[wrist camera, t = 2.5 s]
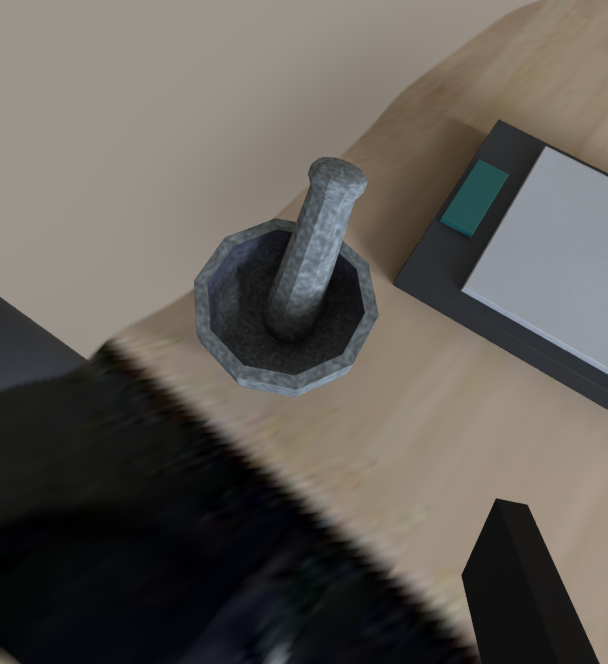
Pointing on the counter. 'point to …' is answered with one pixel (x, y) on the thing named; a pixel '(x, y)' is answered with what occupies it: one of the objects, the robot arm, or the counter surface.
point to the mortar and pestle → (290, 292)
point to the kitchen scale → (524, 258)
